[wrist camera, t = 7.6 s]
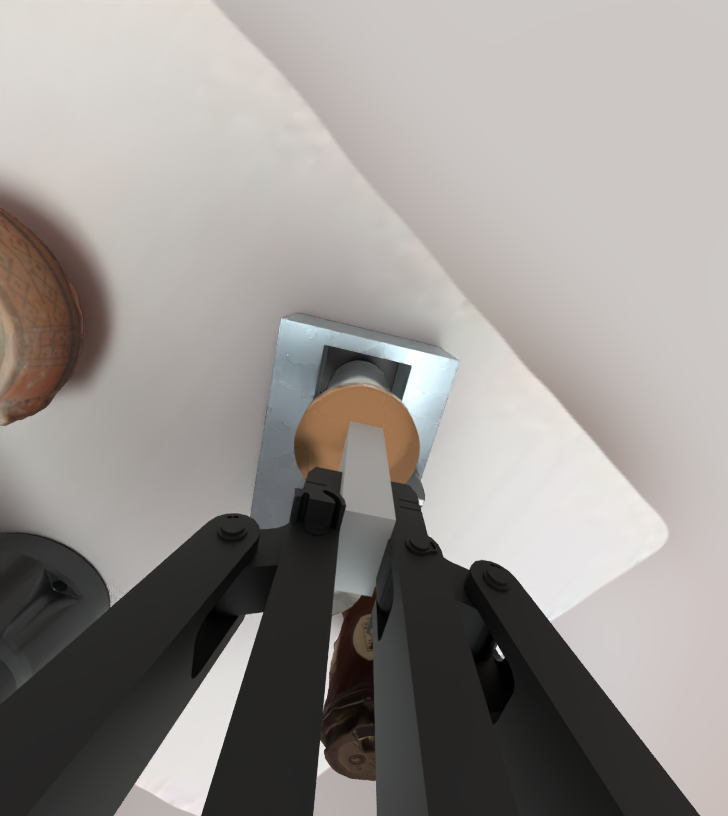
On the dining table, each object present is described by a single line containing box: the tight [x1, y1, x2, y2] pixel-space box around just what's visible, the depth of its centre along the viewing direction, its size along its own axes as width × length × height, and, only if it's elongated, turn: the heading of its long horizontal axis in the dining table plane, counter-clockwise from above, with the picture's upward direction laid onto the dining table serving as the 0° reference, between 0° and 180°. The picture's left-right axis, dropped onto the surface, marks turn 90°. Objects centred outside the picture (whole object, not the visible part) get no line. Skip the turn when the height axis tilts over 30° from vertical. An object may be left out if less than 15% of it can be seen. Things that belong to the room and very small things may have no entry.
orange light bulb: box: [294, 361, 420, 484], centre depth 21 cm, size 6×6×10 cm
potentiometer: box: [405, 468, 425, 508], centre depth 25 cm, size 3×3×3 cm
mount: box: [250, 313, 460, 529], centre depth 28 cm, size 12×19×6 cm, turn 167°
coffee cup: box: [320, 587, 377, 781], centre depth 32 cm, size 9×8×13 cm
